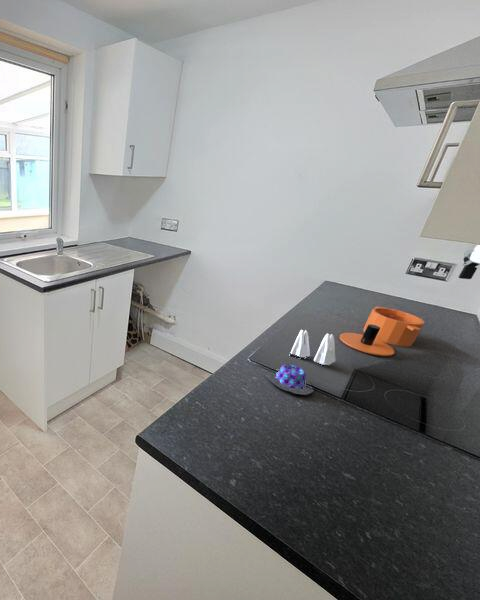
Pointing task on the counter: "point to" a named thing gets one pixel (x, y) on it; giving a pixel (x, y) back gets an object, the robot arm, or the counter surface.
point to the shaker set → (324, 352)
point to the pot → (395, 326)
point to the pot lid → (367, 342)
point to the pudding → (291, 376)
